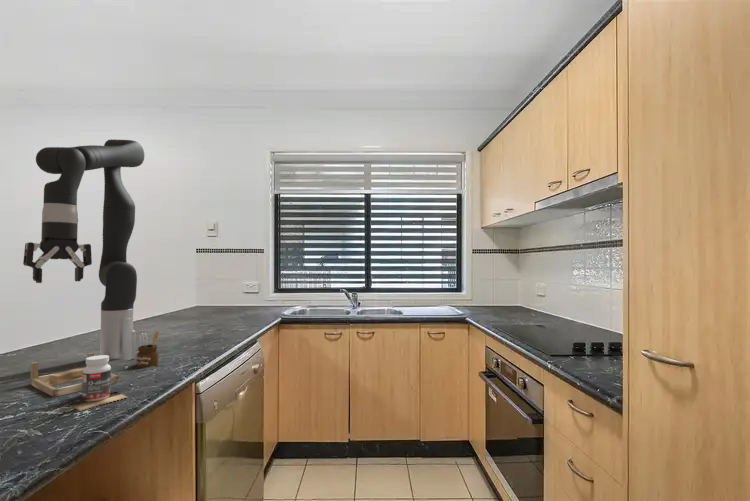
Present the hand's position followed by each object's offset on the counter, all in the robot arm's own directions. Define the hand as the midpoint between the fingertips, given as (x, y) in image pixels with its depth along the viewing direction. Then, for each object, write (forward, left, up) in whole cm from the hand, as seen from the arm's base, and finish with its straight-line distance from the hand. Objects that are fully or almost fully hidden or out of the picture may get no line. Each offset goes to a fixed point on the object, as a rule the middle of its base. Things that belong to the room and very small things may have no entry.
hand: (58, 282), depth 105 cm
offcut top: (-2, 0, -27) cm, 27 cm away
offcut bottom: (-2, 0, -29) cm, 29 cm away
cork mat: (-2, +19, -28) cm, 34 cm away
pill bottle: (-2, +19, -28) cm, 34 cm away
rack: (-2, +5, -28) cm, 29 cm away
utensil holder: (-23, +1, -28) cm, 36 cm away
